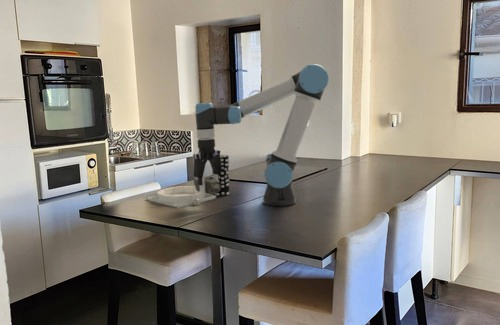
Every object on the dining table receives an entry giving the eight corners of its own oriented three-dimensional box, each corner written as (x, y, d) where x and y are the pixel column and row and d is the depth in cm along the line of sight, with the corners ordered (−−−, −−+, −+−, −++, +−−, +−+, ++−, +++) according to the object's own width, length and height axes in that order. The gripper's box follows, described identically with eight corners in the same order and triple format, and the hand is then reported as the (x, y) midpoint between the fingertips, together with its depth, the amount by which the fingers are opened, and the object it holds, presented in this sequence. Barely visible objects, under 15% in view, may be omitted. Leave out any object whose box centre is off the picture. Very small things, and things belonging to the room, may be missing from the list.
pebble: (198, 205, 213) (198, 197, 213) (201, 206, 210) (201, 198, 210) (191, 205, 211) (191, 198, 211) (194, 206, 208) (194, 198, 208)
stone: (223, 199, 204) (227, 181, 199) (212, 205, 199) (215, 187, 194) (202, 183, 211) (205, 166, 206) (190, 189, 206) (193, 171, 201)
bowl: (214, 198, 223) (213, 190, 222) (177, 207, 207) (177, 198, 206) (184, 192, 238) (184, 184, 237) (149, 200, 222) (148, 191, 221)
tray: (216, 199, 223) (216, 195, 223) (177, 209, 206) (177, 205, 206) (184, 192, 239) (184, 189, 239) (147, 201, 222) (146, 197, 222)
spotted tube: (214, 198, 226) (213, 157, 223) (211, 194, 234) (210, 155, 231) (231, 196, 228) (230, 156, 225) (227, 193, 236) (226, 154, 233)
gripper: (217, 136, 208) (220, 185, 212) (182, 141, 194) (186, 194, 197) (228, 136, 203) (231, 187, 207) (193, 141, 189) (197, 196, 192)
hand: (209, 190), depth 202 cm, fingers closed on stone, 7 cm apart
